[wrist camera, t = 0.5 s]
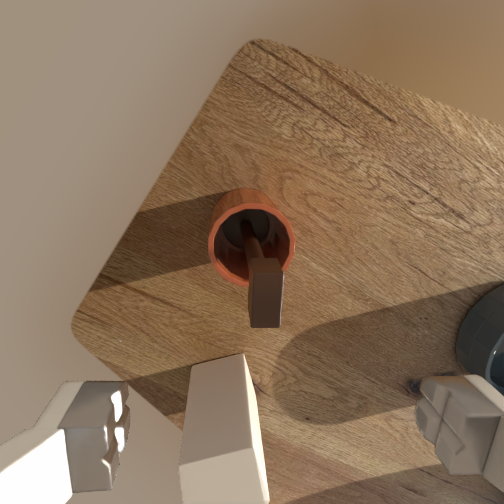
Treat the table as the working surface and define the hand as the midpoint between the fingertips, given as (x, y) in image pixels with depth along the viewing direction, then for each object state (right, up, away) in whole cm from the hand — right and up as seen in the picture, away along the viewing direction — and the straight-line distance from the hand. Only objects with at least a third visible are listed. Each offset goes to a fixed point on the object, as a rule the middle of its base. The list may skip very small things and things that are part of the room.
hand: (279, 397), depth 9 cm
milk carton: (-5, -13, +38) cm, 40 cm away
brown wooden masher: (-2, +7, +30) cm, 31 cm away
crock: (-2, +8, +31) cm, 32 cm away
